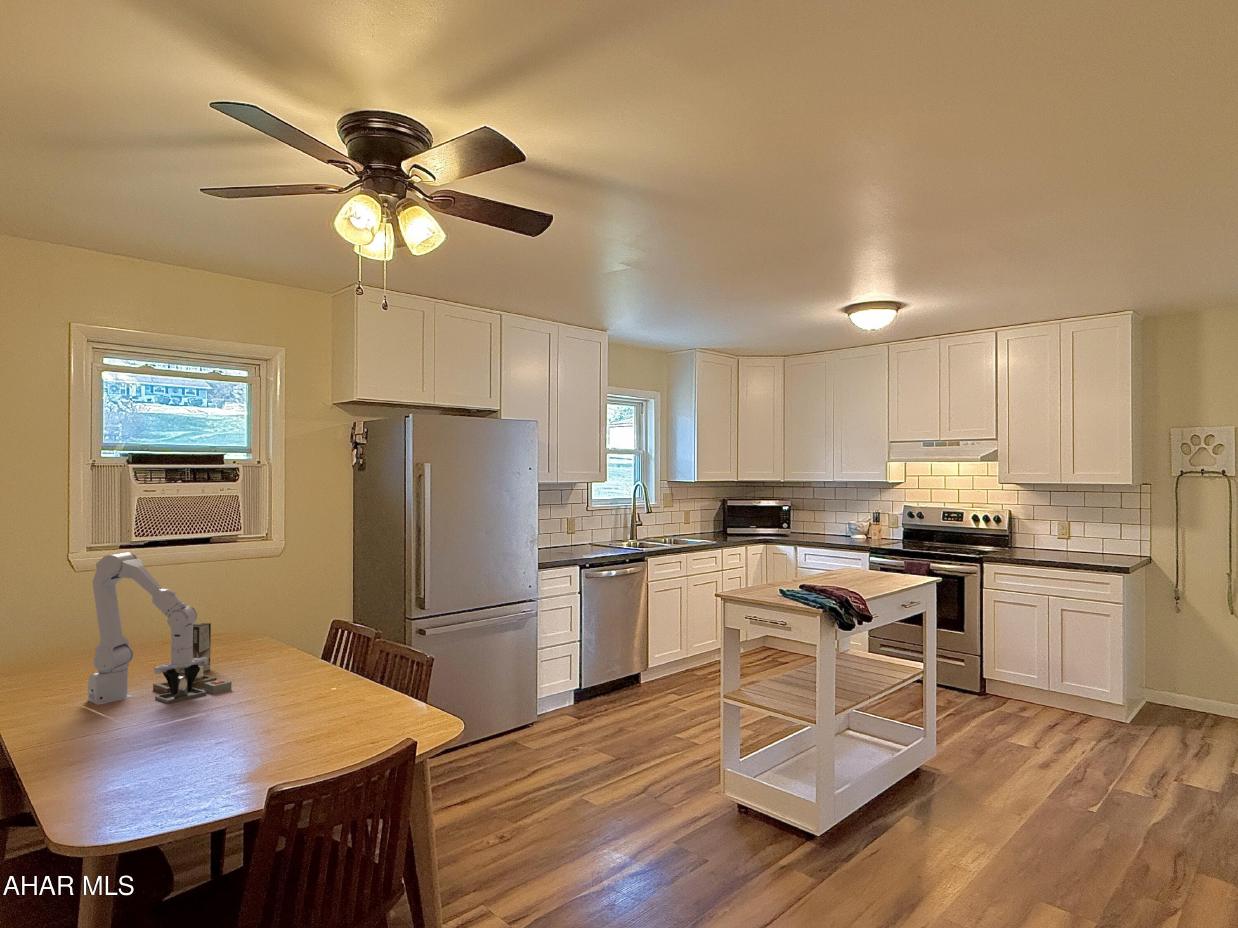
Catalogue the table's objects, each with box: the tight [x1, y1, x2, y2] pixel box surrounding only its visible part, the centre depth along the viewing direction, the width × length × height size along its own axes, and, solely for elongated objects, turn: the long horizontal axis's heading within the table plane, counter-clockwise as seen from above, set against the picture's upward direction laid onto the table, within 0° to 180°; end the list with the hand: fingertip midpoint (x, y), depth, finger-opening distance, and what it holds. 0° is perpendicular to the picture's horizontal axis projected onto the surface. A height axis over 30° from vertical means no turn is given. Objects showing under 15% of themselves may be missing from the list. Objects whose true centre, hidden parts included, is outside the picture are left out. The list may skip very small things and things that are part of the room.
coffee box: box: [175, 622, 212, 674], centre depth 254 cm, size 9×6×16 cm
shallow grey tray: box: [154, 688, 207, 705], centre depth 222 cm, size 11×8×2 cm
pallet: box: [152, 673, 218, 695], centre depth 232 cm, size 15×9×2 cm, turn 146°
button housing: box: [203, 678, 233, 695], centre depth 229 cm, size 6×6×3 cm
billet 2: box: [194, 666, 204, 681], centre depth 235 cm, size 4×4×6 cm
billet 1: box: [174, 675, 188, 699], centre depth 222 cm, size 4×4×6 cm
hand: (181, 692), depth 222 cm, fingers closed on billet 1, 4 cm apart
